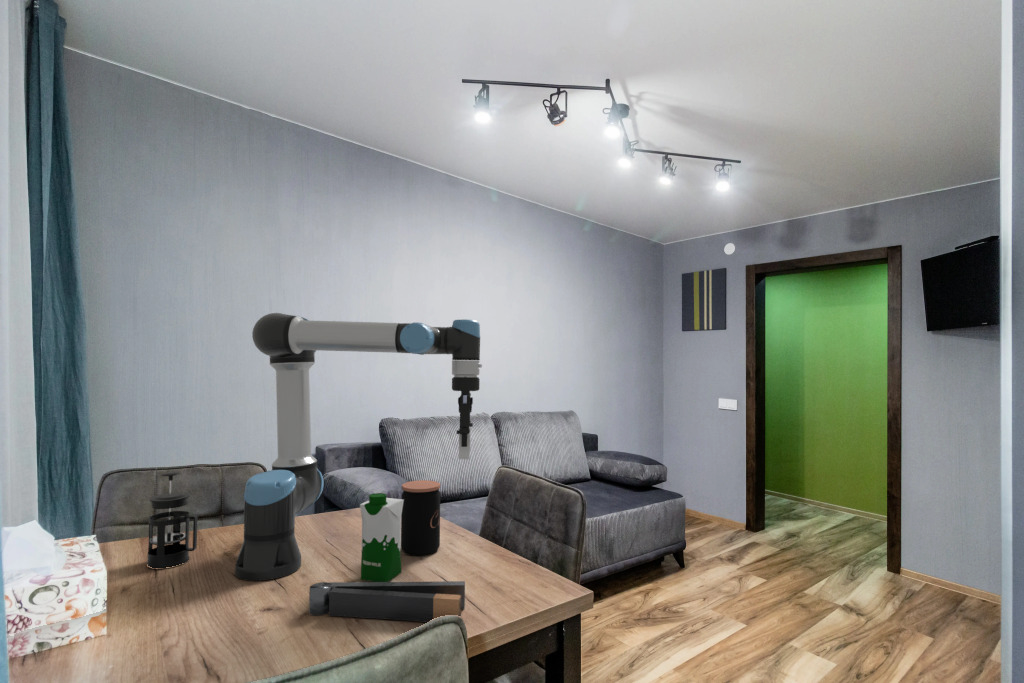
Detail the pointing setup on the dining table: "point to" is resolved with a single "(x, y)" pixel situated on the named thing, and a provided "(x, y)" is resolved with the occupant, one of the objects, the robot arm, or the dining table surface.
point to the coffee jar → (420, 518)
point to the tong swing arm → (392, 604)
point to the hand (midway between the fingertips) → (464, 454)
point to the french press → (175, 550)
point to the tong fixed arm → (322, 589)
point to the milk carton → (381, 538)
